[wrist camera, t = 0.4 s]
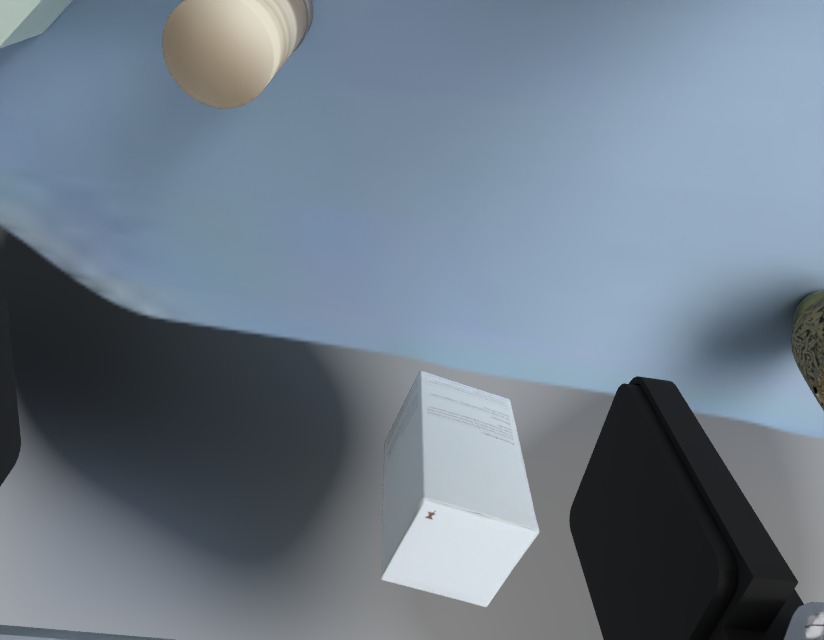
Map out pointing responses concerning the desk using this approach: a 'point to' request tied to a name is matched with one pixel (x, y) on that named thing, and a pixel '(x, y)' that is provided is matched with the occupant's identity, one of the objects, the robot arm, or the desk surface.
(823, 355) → the cup
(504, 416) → the supplement box
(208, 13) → the ash peg
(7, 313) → the robot arm
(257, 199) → the desk surface
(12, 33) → the peg board
